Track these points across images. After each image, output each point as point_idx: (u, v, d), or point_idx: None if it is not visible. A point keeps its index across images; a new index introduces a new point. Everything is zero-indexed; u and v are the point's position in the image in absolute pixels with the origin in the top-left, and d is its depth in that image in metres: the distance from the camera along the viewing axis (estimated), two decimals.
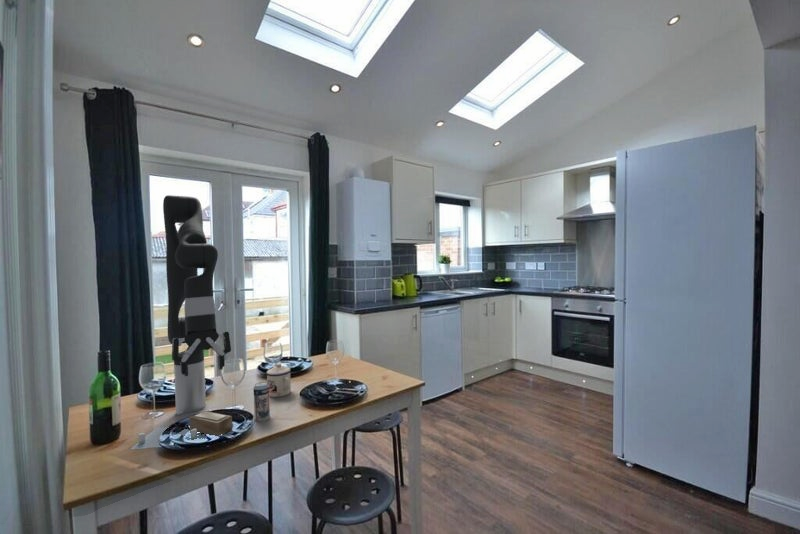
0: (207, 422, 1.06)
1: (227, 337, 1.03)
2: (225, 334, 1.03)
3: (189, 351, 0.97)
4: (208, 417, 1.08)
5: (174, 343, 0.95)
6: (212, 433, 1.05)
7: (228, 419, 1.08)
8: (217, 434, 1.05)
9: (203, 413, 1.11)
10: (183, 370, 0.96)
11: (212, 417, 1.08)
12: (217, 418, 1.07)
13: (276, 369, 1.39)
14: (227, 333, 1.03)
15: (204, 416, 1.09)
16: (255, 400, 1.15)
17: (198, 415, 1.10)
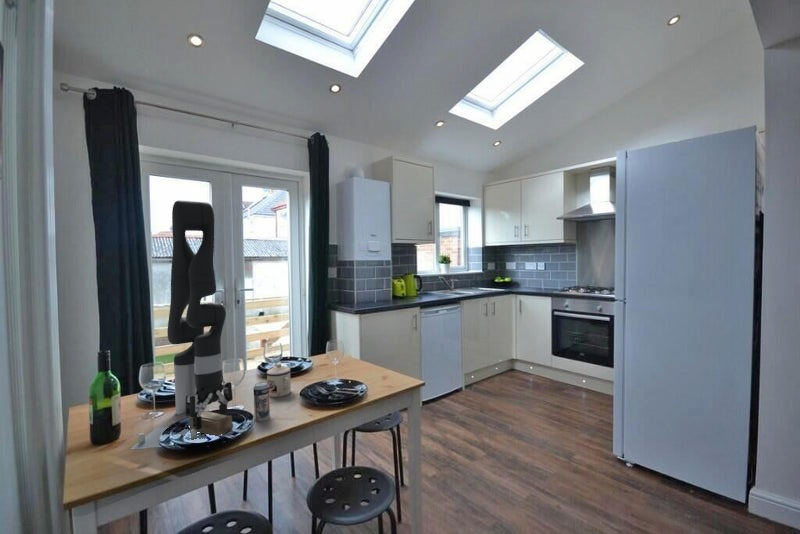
0: (207, 422, 1.06)
1: (230, 387, 1.14)
2: (228, 385, 1.14)
3: (204, 406, 1.05)
4: (208, 417, 1.08)
5: (191, 401, 1.02)
6: (212, 433, 1.05)
7: (228, 419, 1.08)
8: (217, 434, 1.05)
9: (203, 413, 1.11)
10: (197, 424, 1.04)
11: (212, 417, 1.08)
12: (217, 418, 1.07)
13: (276, 369, 1.39)
14: (230, 384, 1.14)
15: (204, 416, 1.09)
16: (255, 400, 1.15)
17: None
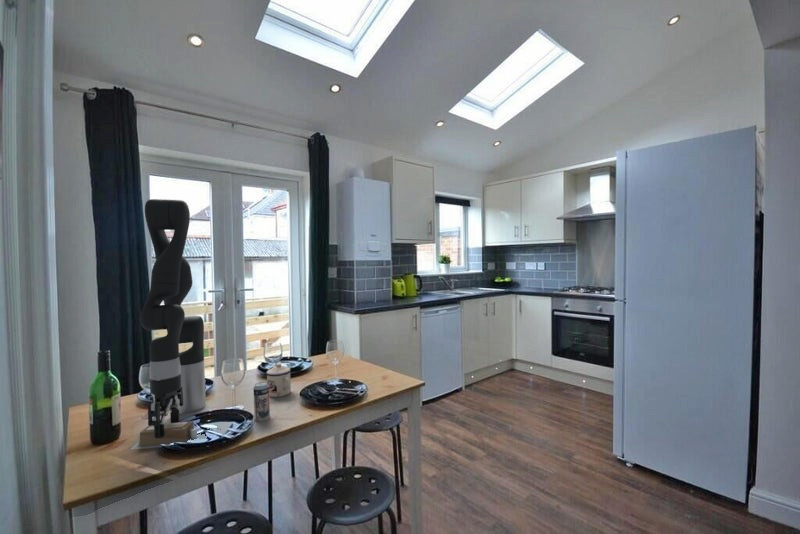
0: (169, 432, 1.01)
1: (181, 392, 1.09)
2: (180, 389, 1.09)
3: (166, 412, 1.00)
4: (167, 427, 1.02)
5: (157, 408, 0.96)
6: (177, 441, 1.01)
7: (191, 424, 1.05)
8: (184, 441, 1.01)
9: None
10: (160, 432, 0.98)
11: (172, 426, 1.03)
12: (180, 425, 1.03)
13: (276, 369, 1.39)
14: (181, 388, 1.09)
15: None
16: (255, 400, 1.15)
17: (150, 428, 1.02)
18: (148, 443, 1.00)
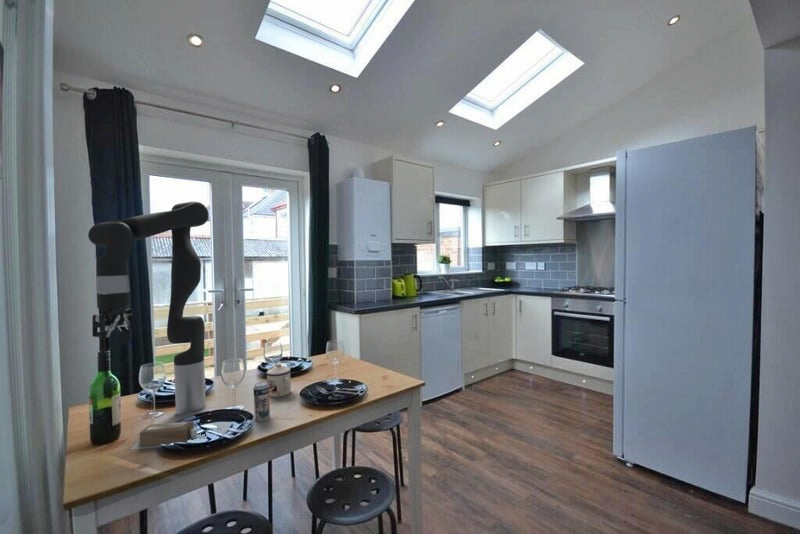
0: (169, 432, 1.01)
1: (132, 314, 1.10)
2: (131, 311, 1.10)
3: (113, 326, 1.01)
4: (167, 427, 1.02)
5: (102, 319, 0.98)
6: (177, 441, 1.01)
7: (191, 424, 1.05)
8: (184, 441, 1.01)
9: (154, 426, 1.03)
10: (106, 345, 0.99)
11: (172, 426, 1.03)
12: (180, 425, 1.03)
13: (276, 369, 1.39)
14: (132, 310, 1.10)
15: (160, 427, 1.02)
16: (255, 400, 1.15)
17: (150, 428, 1.02)
18: (148, 443, 1.00)
